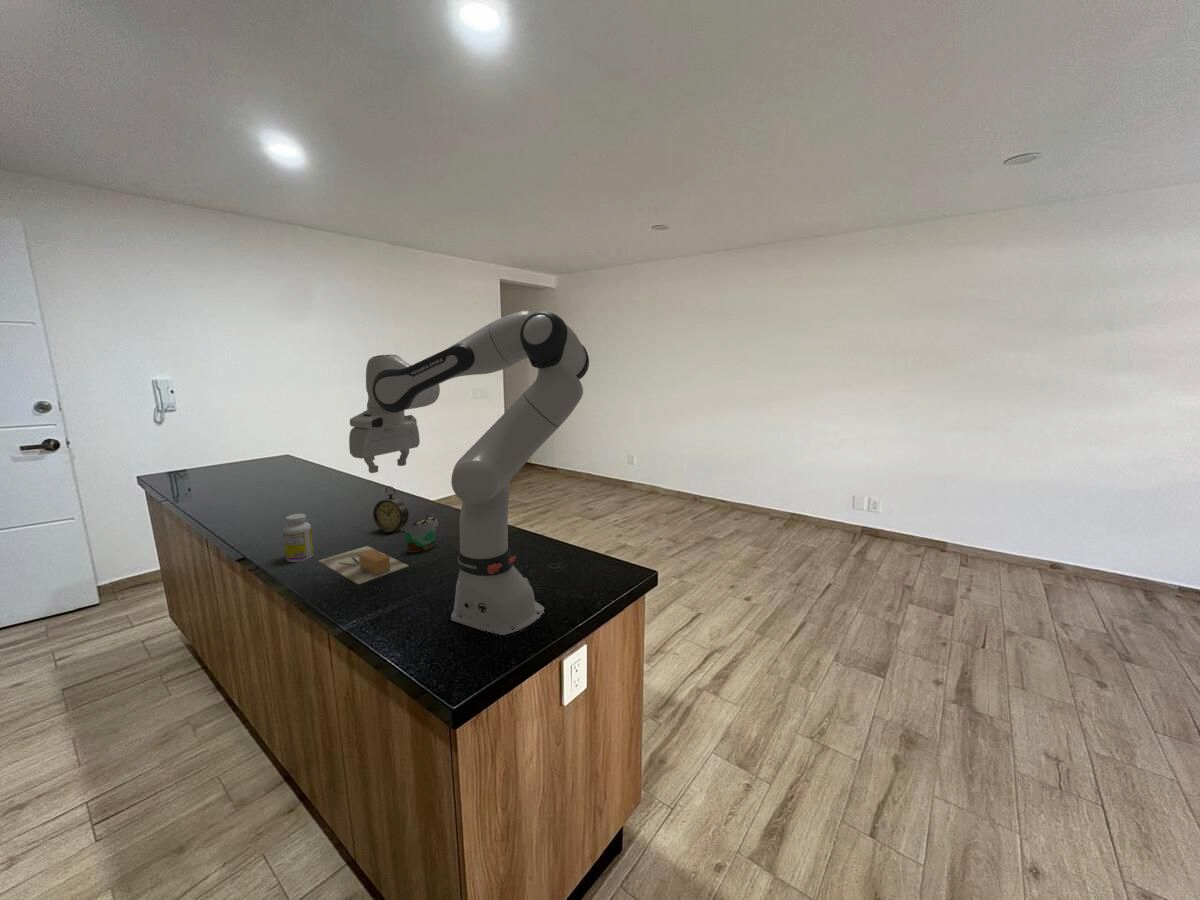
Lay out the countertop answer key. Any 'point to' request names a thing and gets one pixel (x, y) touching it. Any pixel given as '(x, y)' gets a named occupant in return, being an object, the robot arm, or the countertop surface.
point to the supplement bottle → (298, 538)
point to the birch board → (357, 565)
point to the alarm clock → (390, 514)
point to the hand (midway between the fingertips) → (388, 468)
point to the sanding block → (374, 562)
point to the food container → (421, 534)
